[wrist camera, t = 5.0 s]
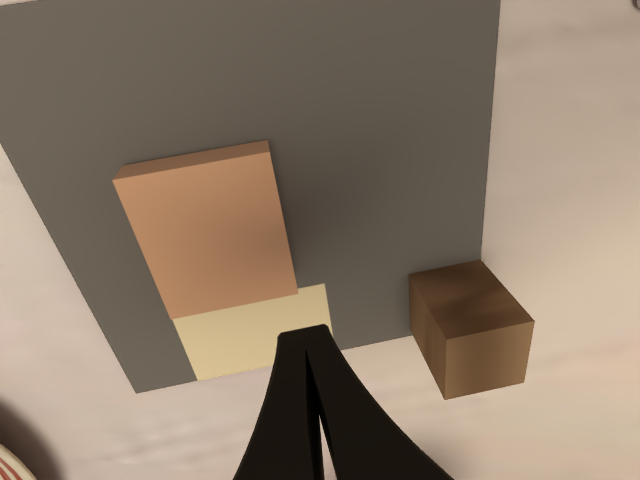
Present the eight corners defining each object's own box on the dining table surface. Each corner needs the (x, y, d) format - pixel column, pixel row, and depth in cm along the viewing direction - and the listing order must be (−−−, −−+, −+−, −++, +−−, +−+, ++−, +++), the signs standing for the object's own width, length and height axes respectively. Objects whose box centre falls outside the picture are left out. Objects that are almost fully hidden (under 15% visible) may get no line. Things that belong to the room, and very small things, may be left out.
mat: (500, -70, 16) (506, -72, 15) (472, 317, 25) (475, 322, 25) (-61, 15, 14) (-69, 16, 14) (137, 387, 24) (135, 394, 24)
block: (480, 259, 23) (534, 320, 18) (476, 315, 25) (524, 382, 21) (408, 274, 22) (446, 339, 18) (410, 329, 25) (444, 399, 20)
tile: (269, 151, 16) (112, 180, 16) (298, 293, 20) (170, 319, 20) (267, 138, 18) (123, 164, 17) (294, 272, 21) (176, 296, 21)
